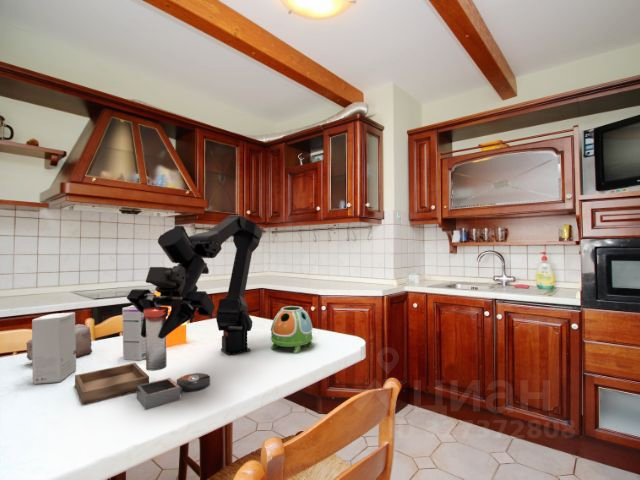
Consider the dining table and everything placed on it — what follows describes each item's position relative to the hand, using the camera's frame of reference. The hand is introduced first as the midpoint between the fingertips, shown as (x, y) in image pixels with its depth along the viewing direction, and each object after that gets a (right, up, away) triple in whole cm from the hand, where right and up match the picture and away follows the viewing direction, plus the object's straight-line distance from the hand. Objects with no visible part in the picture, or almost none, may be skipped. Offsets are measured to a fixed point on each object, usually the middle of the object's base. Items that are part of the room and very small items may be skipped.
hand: (151, 336), depth 71 cm
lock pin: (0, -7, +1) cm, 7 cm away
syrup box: (-17, -14, +28) cm, 35 cm away
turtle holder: (+26, -13, +38) cm, 48 cm away
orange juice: (-14, -14, +42) cm, 46 cm away
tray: (-12, -13, +7) cm, 19 cm away
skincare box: (-29, -13, +13) cm, 35 cm away
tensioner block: (+3, -13, +5) cm, 14 cm away
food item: (-38, -14, +27) cm, 48 cm away
